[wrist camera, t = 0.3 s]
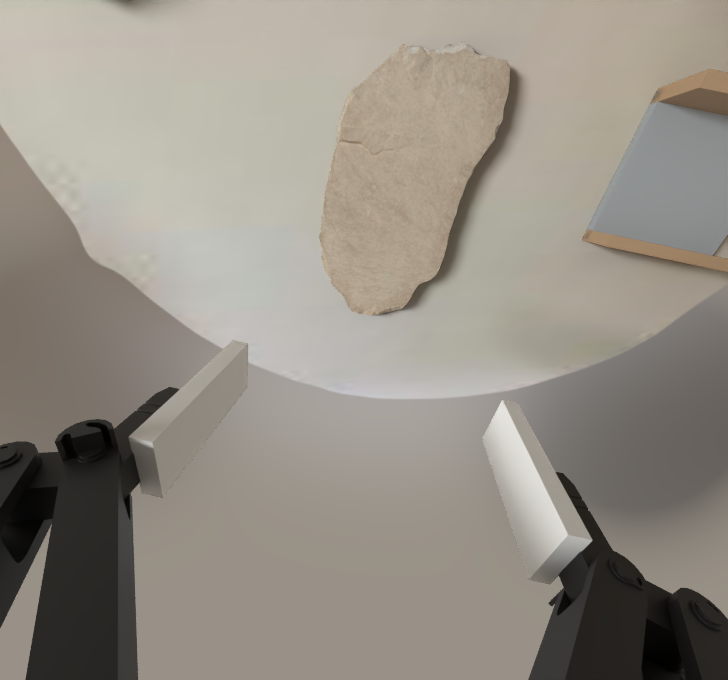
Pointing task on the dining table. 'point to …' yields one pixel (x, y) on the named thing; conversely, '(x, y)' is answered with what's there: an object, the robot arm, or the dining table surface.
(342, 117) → the stone tablet
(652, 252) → the track
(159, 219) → the dining table surface
